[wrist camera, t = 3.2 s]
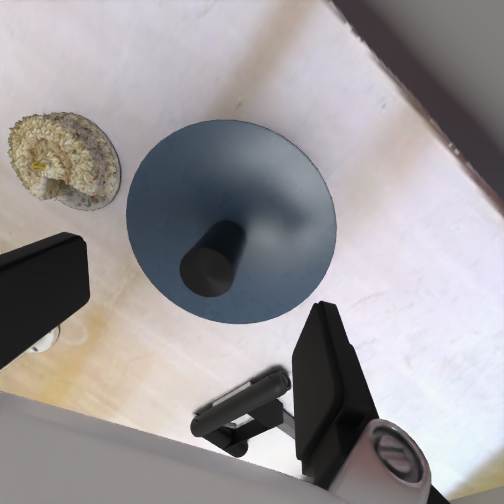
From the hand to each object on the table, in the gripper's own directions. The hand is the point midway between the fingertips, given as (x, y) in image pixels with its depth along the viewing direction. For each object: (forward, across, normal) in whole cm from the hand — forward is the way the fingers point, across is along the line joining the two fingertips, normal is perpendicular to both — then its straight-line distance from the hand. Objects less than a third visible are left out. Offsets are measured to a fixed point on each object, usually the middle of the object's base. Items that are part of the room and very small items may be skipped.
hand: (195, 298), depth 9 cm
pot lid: (+8, 0, 0) cm, 8 cm away
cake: (+17, +19, 0) cm, 26 cm away
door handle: (+17, -10, +33) cm, 38 cm away
